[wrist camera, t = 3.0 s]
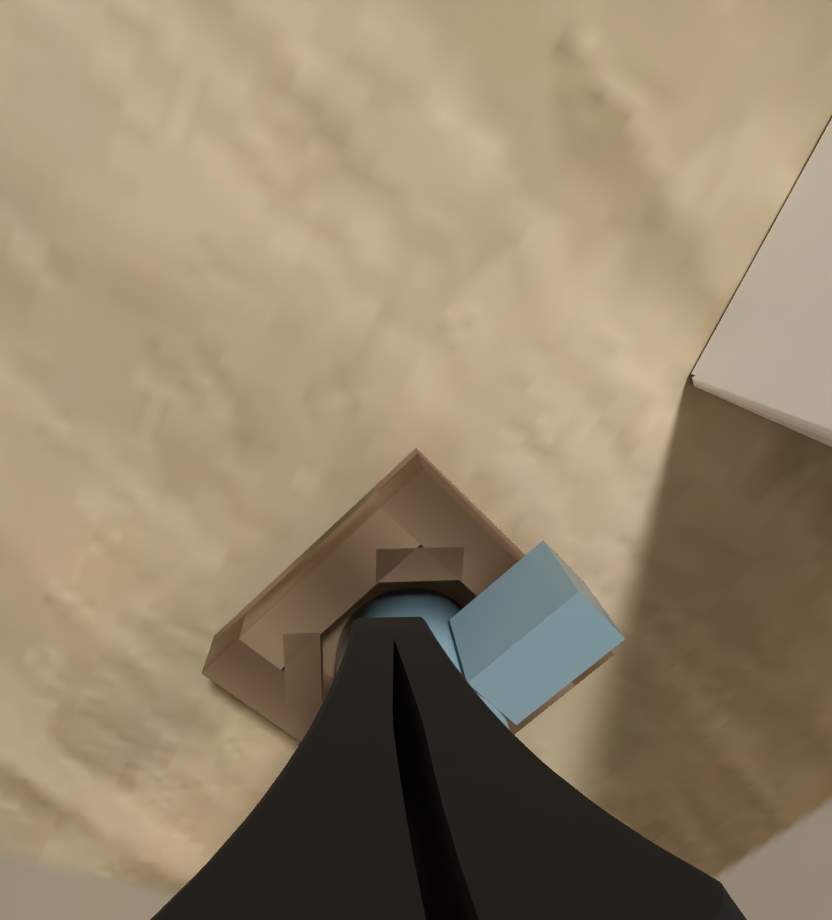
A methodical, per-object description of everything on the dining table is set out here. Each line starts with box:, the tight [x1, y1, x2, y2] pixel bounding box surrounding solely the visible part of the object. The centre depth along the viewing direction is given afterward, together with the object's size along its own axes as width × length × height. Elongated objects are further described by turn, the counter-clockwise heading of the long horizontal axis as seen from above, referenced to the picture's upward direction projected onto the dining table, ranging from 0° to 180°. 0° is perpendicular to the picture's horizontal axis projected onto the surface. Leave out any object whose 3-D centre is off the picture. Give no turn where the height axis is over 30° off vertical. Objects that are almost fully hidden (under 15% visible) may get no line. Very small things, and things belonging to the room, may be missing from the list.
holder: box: [202, 449, 614, 742], centre depth 21 cm, size 10×10×2 cm
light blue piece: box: [336, 540, 625, 730], centre depth 19 cm, size 9×5×5 cm, turn 133°
